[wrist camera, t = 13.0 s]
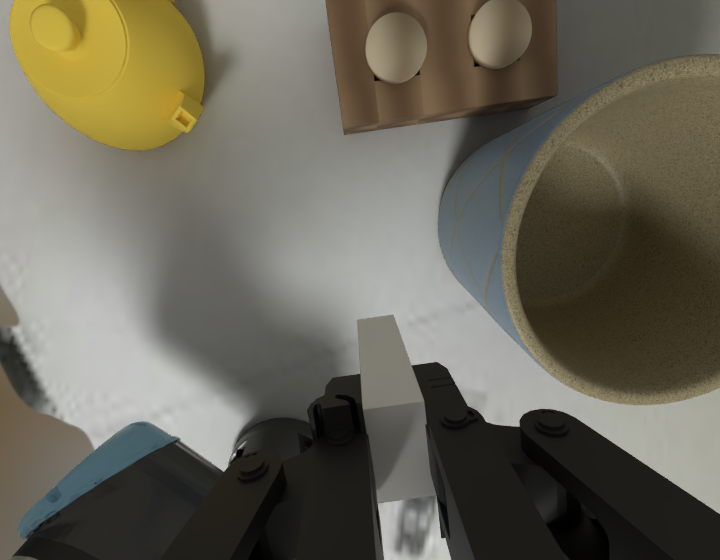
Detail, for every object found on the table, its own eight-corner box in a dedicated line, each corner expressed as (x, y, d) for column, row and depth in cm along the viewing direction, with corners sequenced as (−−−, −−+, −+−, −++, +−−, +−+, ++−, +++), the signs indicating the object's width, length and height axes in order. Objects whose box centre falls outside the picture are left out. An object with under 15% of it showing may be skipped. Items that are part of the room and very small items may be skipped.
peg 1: (366, 102, 43) (370, 84, 36) (359, 46, 42) (361, 17, 35) (416, 95, 43) (429, 76, 36) (411, 39, 42) (423, 8, 35)
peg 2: (452, 89, 43) (473, 69, 36) (448, 33, 42) (468, 1, 35) (503, 82, 43) (532, 61, 36) (500, 26, 42) (530, -8, 35)
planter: (605, 108, 44) (877, 18, 21) (610, 291, 49) (833, 376, 27) (415, 143, 45) (483, 91, 22) (439, 321, 50) (515, 431, 27)
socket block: (344, 134, 44) (343, 125, 38) (328, 20, 41) (324, -8, 36) (530, 107, 44) (557, 95, 38) (526, -9, 41) (555, -42, 35)
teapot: (35, 91, 42) (-95, 49, 30) (116, -67, 39) (9, -187, 27) (190, 199, 45) (131, 201, 33) (277, 61, 42) (247, 6, 30)
